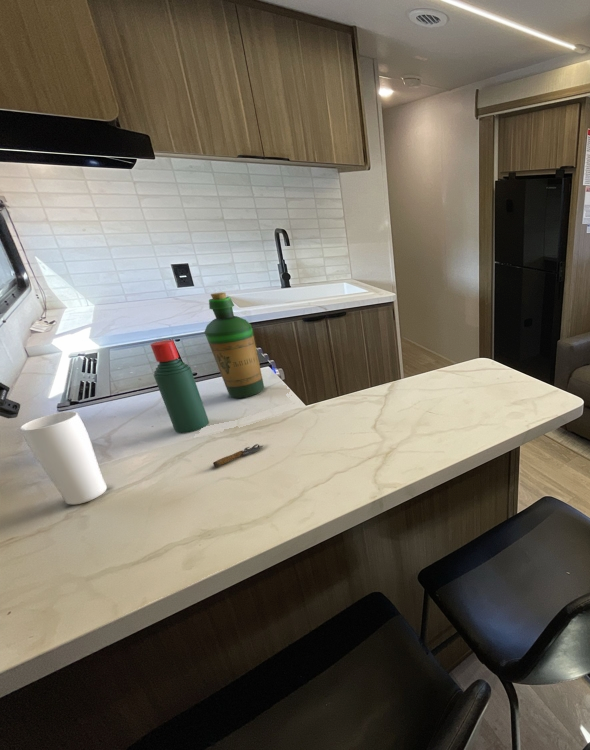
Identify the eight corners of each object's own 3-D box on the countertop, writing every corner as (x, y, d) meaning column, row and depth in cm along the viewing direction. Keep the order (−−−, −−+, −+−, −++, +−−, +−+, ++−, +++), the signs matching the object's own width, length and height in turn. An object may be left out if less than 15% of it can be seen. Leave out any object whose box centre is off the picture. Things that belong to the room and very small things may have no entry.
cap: (183, 356, 90) (177, 340, 89) (165, 362, 87) (158, 345, 85) (170, 356, 91) (165, 339, 90) (152, 361, 88) (145, 344, 86)
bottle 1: (169, 435, 91) (136, 351, 84) (184, 422, 97) (155, 343, 90) (201, 431, 92) (171, 348, 85) (214, 418, 98) (187, 340, 91)
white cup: (100, 481, 75) (65, 409, 69) (121, 488, 72) (87, 413, 67) (52, 504, 69) (9, 426, 63) (73, 512, 66) (31, 432, 61)
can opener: (215, 468, 77) (214, 463, 76) (212, 464, 78) (210, 459, 78) (265, 448, 83) (264, 443, 83) (261, 445, 84) (259, 440, 84)
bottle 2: (226, 404, 107) (192, 298, 97) (224, 392, 115) (193, 294, 105) (271, 393, 112) (243, 292, 102) (266, 383, 120) (240, 289, 111)
